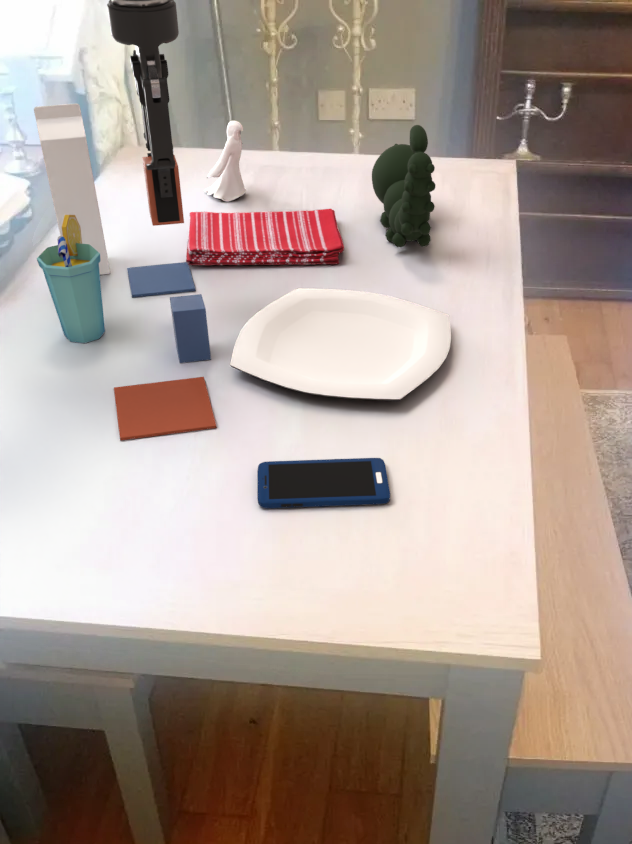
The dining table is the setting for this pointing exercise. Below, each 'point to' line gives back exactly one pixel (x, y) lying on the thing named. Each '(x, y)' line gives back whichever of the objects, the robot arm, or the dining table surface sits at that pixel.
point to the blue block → (190, 328)
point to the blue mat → (160, 279)
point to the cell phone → (322, 483)
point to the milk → (71, 173)
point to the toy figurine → (405, 189)
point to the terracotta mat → (163, 408)
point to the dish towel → (264, 238)
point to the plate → (343, 344)
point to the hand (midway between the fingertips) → (166, 213)
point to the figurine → (228, 167)
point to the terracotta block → (152, 196)
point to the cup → (74, 283)
